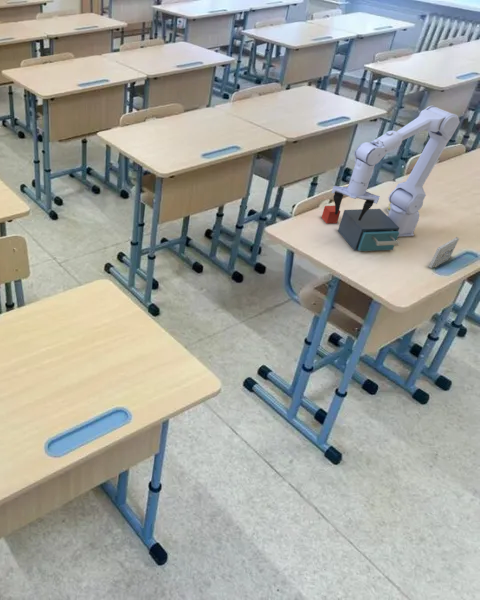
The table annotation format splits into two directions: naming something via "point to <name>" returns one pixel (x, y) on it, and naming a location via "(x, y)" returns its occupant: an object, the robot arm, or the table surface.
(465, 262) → the table surface
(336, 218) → the red block
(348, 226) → the grey drawer cabinet
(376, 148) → the robot arm
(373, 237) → the teal drawer
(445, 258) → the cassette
